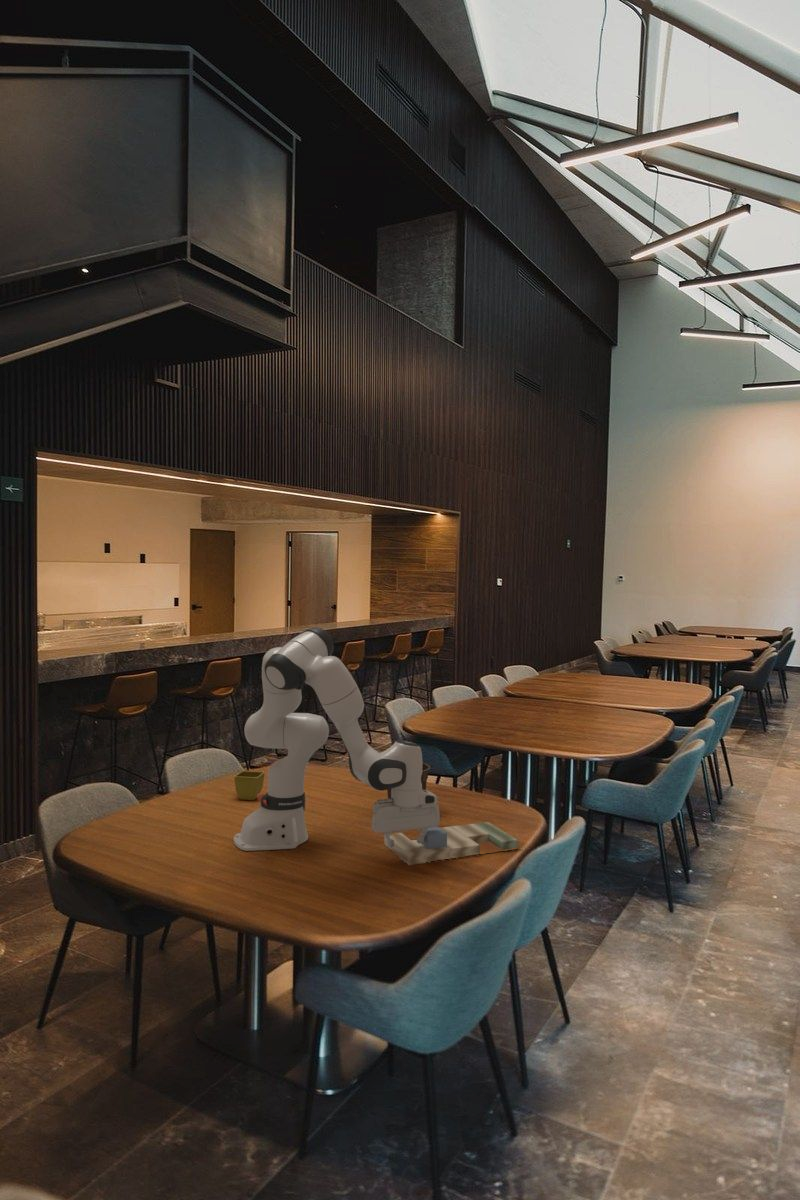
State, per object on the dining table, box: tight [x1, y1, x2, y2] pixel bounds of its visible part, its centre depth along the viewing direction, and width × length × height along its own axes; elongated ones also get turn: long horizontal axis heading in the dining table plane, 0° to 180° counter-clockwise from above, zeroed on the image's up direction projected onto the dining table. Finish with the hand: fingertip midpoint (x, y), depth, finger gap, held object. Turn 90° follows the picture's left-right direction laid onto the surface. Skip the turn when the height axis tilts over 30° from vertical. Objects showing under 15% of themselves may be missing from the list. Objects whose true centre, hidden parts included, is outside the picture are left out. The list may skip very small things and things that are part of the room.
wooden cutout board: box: [383, 821, 519, 866], centre depth 231 cm, size 36×18×3 cm, turn 113°
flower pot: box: [234, 770, 265, 801], centre depth 276 cm, size 9×9×9 cm
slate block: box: [419, 826, 447, 849], centre depth 224 cm, size 6×6×4 cm
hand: (405, 844), depth 220 cm, fingers open, 8 cm apart
